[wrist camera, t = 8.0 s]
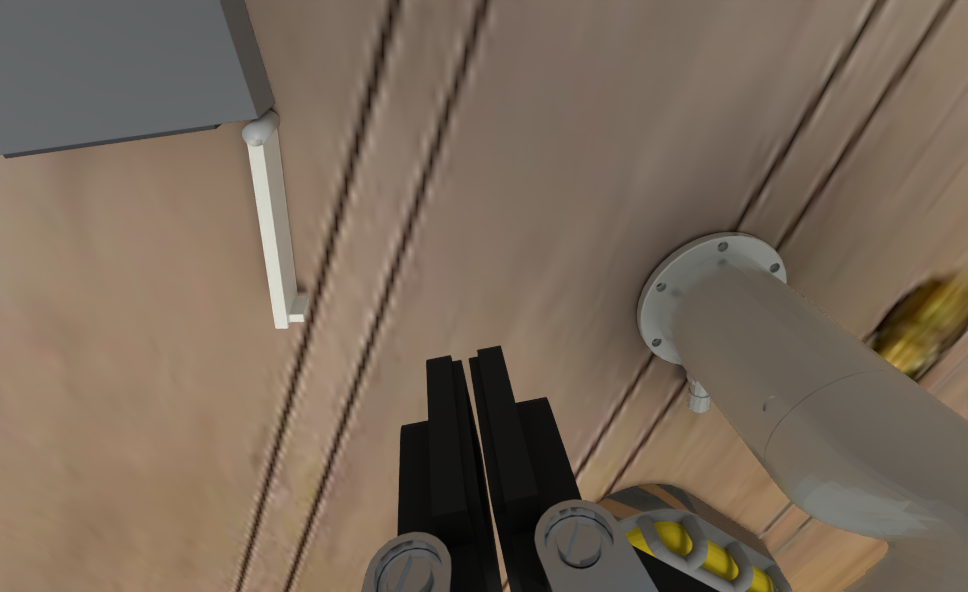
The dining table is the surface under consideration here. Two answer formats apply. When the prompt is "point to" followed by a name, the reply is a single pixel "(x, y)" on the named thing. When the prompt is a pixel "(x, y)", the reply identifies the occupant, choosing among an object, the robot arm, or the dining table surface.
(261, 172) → the light grey flat bar
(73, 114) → the gray button box
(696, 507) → the cage light
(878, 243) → the dining table surface
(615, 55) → the dining table surface
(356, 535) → the dining table surface
